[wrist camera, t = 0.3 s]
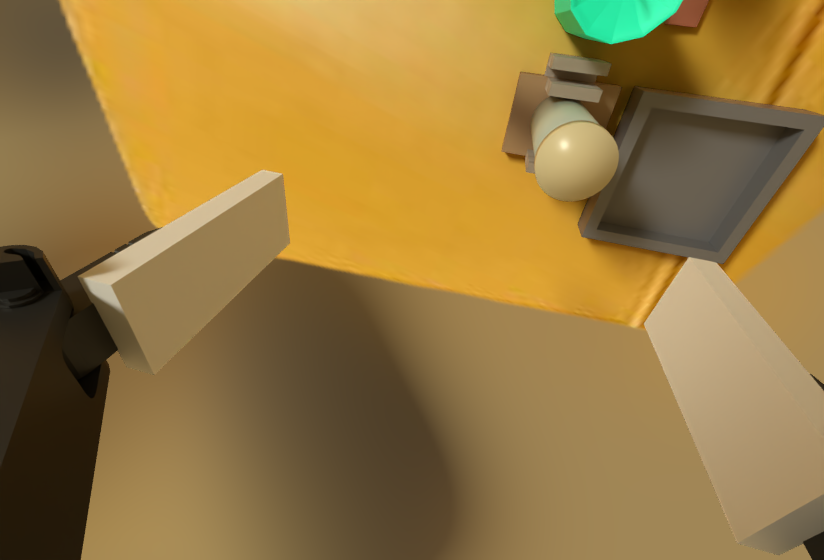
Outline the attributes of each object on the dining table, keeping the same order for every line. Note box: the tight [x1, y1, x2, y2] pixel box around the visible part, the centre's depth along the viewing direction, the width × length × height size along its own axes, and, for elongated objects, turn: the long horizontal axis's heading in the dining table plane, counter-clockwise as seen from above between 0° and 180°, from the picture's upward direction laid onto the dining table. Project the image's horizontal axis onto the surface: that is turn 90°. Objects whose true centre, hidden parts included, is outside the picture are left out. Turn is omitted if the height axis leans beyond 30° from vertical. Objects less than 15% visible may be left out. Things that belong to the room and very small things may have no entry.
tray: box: [578, 86, 824, 264], centre depth 31 cm, size 13×13×3 cm
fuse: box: [530, 96, 619, 201], centre depth 27 cm, size 5×5×12 cm
